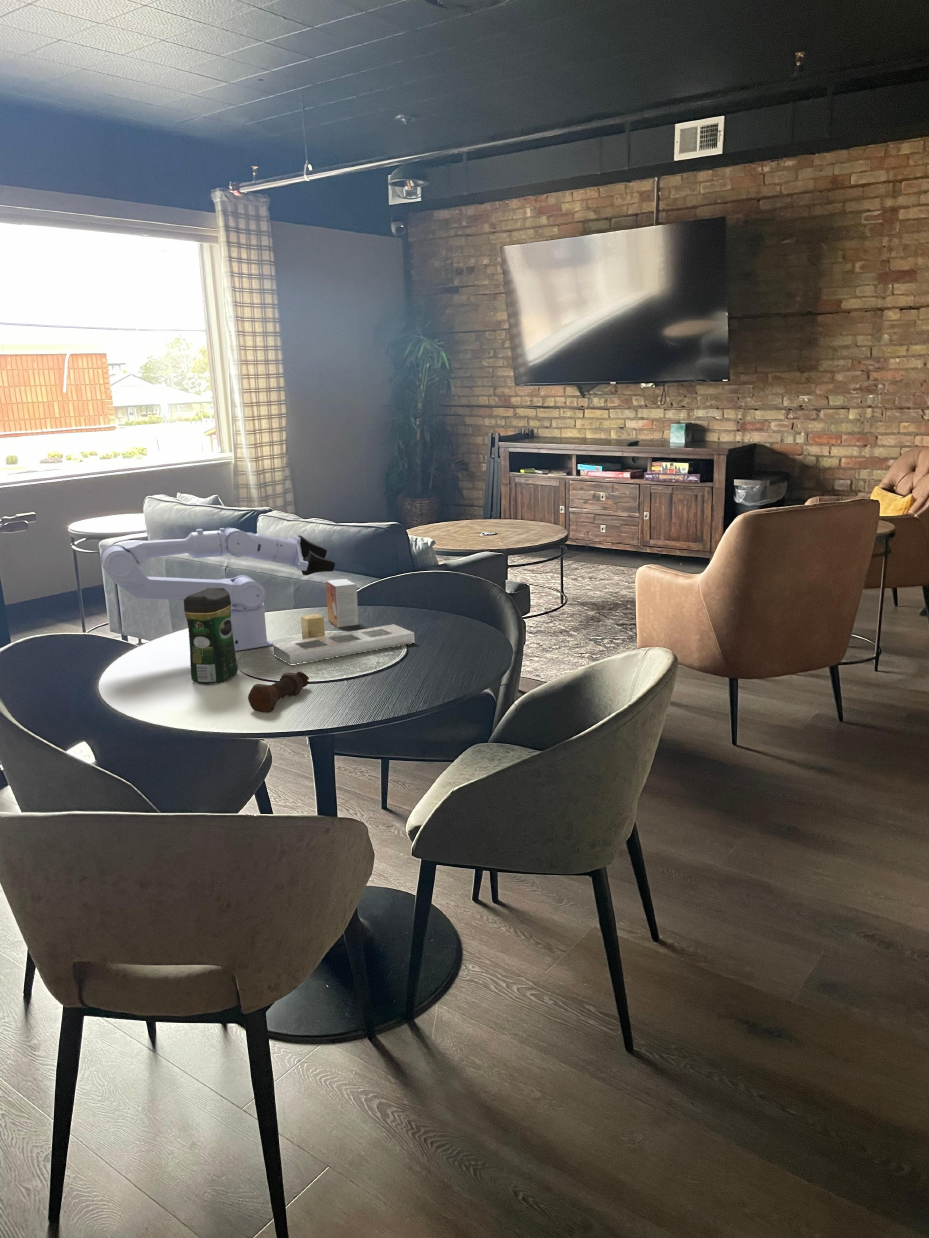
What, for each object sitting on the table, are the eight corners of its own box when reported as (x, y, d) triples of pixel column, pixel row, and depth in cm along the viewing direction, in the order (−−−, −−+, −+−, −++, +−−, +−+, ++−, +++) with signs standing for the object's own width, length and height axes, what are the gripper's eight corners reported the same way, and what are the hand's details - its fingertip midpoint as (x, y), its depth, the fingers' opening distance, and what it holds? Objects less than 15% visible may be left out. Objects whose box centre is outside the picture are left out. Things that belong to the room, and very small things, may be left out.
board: (290, 666, 194) (289, 654, 193) (273, 655, 202) (273, 644, 202) (414, 643, 209) (414, 632, 209) (394, 634, 217) (393, 624, 217)
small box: (327, 621, 232) (325, 580, 230) (349, 618, 235) (346, 578, 232) (337, 627, 225) (334, 586, 223) (359, 625, 227) (356, 583, 225)
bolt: (307, 697, 180) (265, 720, 166) (287, 683, 181) (243, 704, 167) (318, 673, 178) (277, 695, 164) (298, 659, 179) (255, 679, 165)
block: (309, 644, 211) (307, 619, 209) (302, 641, 214) (300, 616, 213) (325, 641, 213) (323, 616, 211) (318, 638, 216) (316, 613, 215)
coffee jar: (209, 670, 192) (201, 584, 188) (243, 672, 190) (236, 585, 186) (184, 684, 183) (175, 594, 179) (220, 687, 181) (211, 595, 177)
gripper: (285, 545, 202) (342, 557, 209) (272, 522, 214) (326, 533, 221) (277, 574, 205) (333, 584, 211) (264, 549, 216) (318, 559, 223)
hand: (329, 560), depth 216 cm, fingers open, 7 cm apart
